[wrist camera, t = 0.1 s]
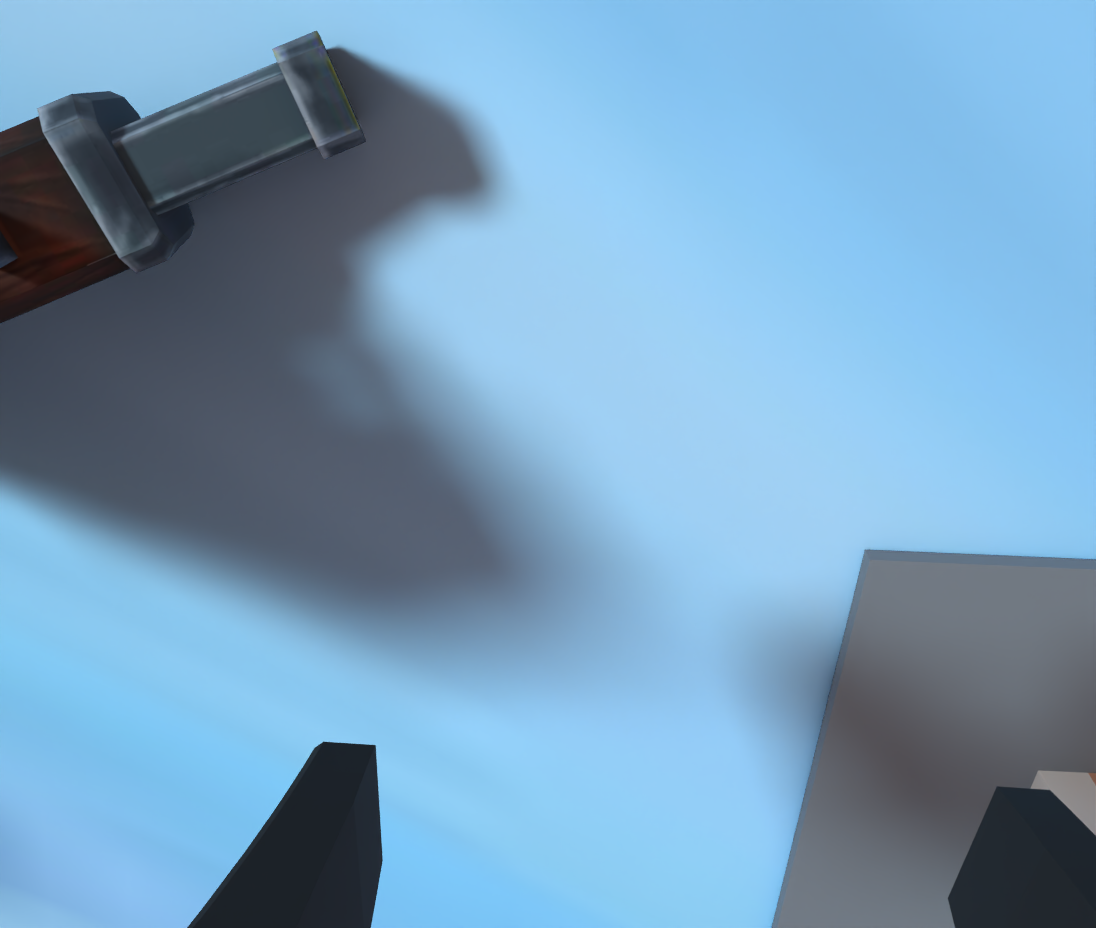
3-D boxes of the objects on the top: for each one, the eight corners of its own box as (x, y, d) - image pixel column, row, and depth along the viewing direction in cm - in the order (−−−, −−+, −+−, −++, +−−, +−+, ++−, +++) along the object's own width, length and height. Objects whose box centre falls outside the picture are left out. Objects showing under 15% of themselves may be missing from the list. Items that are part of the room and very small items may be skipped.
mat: (1217, 1051, 30) (1224, 1064, 30) (746, 1027, 30) (749, 1039, 30) (1566, 579, 20) (1583, 590, 20) (865, 549, 20) (869, 560, 20)
